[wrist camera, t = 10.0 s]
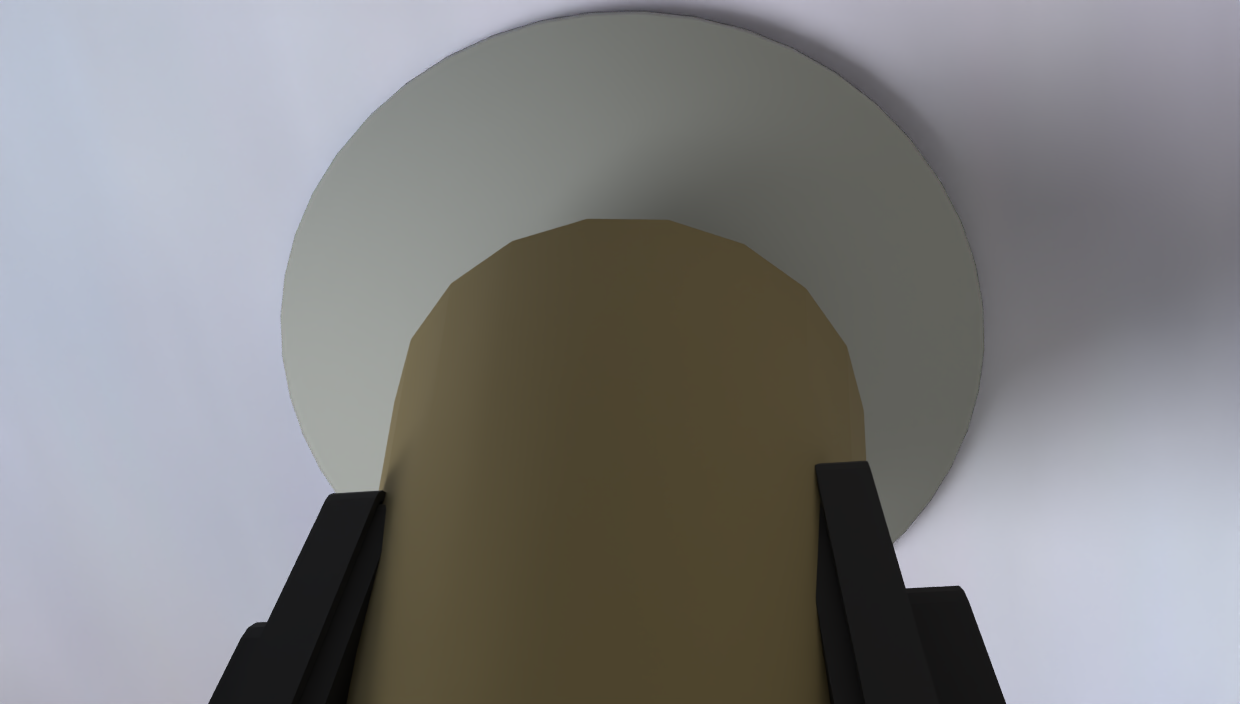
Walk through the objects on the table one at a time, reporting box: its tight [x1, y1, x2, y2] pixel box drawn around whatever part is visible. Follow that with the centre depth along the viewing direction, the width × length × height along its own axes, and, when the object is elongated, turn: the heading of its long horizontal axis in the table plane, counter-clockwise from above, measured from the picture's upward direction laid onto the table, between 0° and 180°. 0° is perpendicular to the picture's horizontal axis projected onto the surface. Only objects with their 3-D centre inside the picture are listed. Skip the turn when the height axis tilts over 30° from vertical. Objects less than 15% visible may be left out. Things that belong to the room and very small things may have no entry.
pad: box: [281, 11, 984, 544], centre depth 16 cm, size 10×10×1 cm
